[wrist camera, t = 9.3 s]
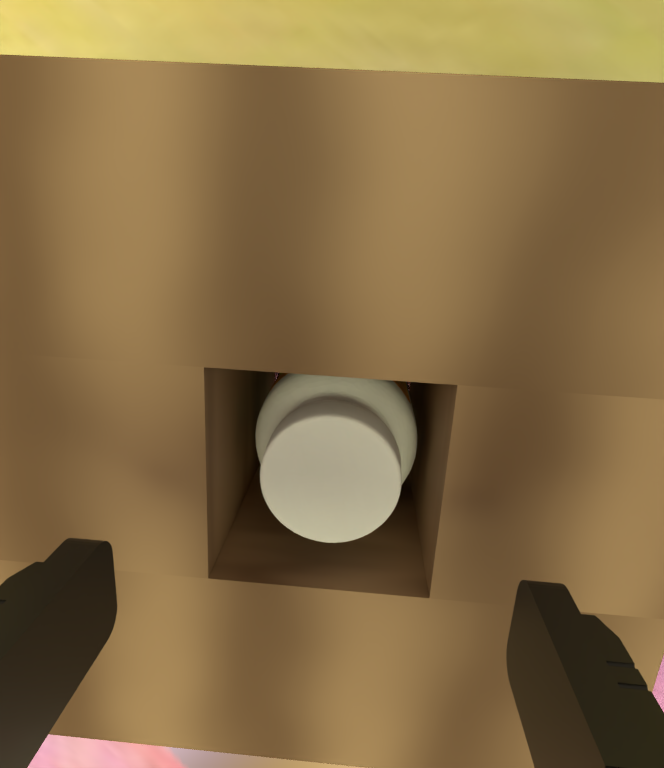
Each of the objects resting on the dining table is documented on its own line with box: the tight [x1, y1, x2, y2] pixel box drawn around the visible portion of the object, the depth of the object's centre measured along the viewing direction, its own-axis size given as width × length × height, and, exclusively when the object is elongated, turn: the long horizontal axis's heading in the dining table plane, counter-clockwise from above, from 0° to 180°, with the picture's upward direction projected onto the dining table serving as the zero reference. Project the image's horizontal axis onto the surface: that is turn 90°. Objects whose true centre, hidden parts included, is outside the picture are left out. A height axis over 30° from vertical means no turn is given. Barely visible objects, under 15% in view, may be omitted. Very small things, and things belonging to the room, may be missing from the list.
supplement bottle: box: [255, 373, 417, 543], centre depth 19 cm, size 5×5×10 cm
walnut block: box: [0, 55, 664, 768], centre depth 19 cm, size 20×20×11 cm
